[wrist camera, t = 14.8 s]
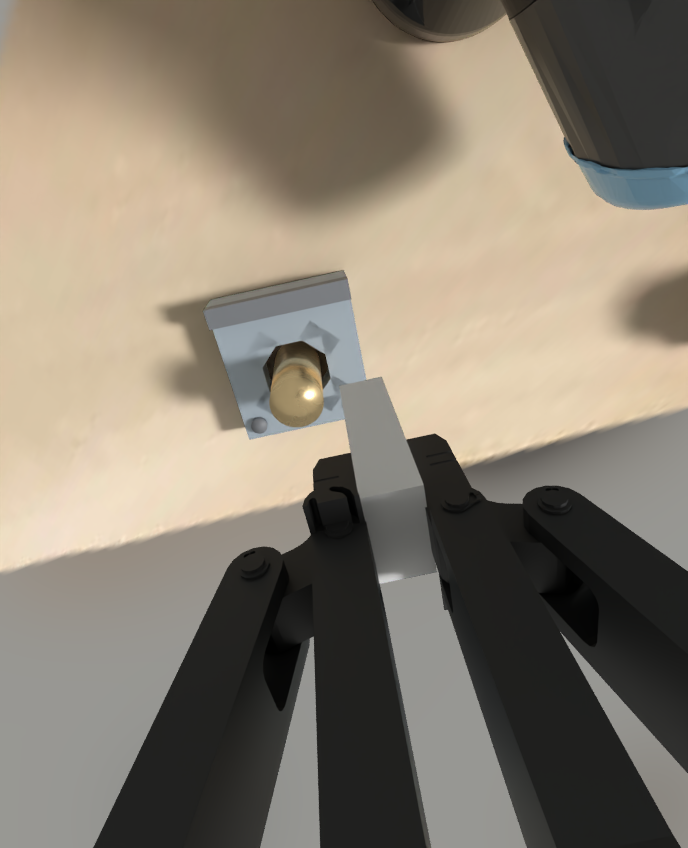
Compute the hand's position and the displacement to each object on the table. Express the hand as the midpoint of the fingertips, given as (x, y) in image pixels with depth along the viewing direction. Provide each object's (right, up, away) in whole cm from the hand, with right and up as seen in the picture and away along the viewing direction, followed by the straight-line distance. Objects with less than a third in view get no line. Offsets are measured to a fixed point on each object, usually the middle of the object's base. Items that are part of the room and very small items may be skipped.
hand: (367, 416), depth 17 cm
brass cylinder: (-6, +6, +33) cm, 34 cm away
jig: (-6, +7, +33) cm, 34 cm away
